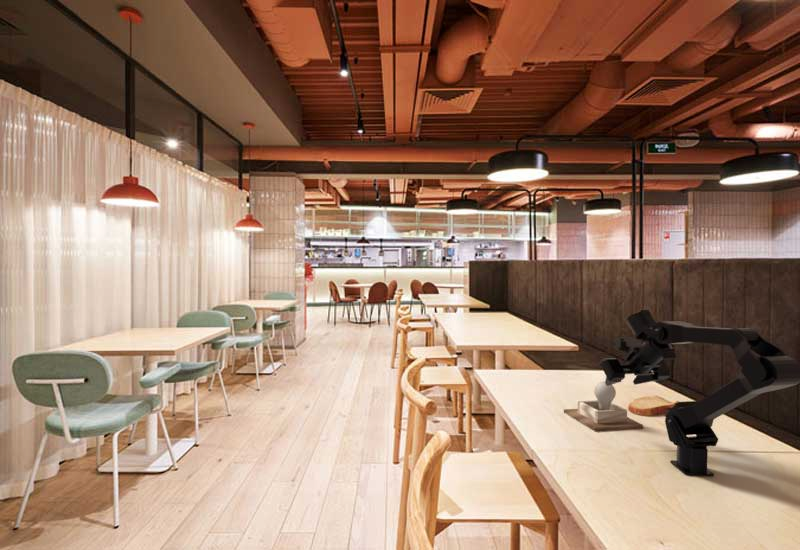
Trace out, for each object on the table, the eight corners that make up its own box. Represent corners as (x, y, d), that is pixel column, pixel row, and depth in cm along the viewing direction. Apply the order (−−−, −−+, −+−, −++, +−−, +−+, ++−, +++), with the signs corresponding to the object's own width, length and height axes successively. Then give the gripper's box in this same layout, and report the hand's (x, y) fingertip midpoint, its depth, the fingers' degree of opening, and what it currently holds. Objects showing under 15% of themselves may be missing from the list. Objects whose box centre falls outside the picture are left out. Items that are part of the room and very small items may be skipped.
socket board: (642, 428, 128) (643, 413, 128) (594, 431, 125) (594, 415, 125) (607, 410, 144) (607, 396, 144) (563, 412, 141) (564, 398, 141)
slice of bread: (631, 416, 139) (632, 404, 139) (620, 399, 157) (621, 389, 156) (695, 423, 134) (696, 411, 134) (677, 405, 151) (677, 394, 151)
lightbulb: (611, 422, 130) (612, 386, 130) (590, 417, 134) (591, 382, 134) (617, 416, 135) (618, 381, 134) (597, 411, 139) (597, 378, 138)
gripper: (663, 329, 122) (634, 359, 133) (605, 330, 119) (580, 360, 130) (686, 363, 115) (653, 392, 126) (624, 365, 111) (596, 394, 122)
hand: (620, 383), depth 126 cm, fingers open, 9 cm apart
